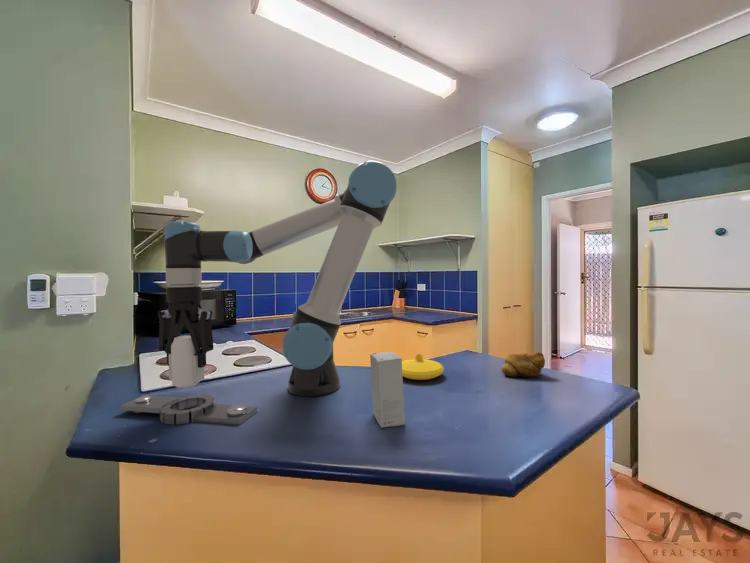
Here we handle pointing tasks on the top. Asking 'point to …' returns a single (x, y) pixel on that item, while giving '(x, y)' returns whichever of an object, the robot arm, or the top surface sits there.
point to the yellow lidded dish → (421, 368)
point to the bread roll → (523, 365)
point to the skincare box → (387, 389)
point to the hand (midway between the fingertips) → (186, 379)
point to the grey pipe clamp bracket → (202, 412)
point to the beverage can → (182, 362)
